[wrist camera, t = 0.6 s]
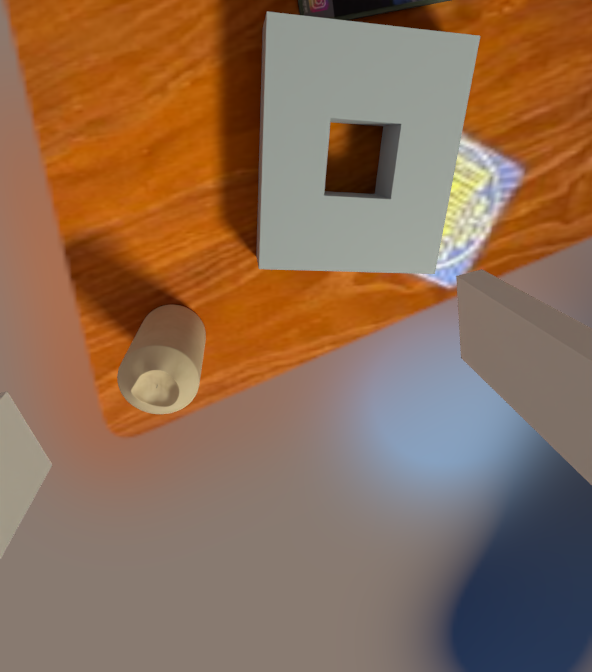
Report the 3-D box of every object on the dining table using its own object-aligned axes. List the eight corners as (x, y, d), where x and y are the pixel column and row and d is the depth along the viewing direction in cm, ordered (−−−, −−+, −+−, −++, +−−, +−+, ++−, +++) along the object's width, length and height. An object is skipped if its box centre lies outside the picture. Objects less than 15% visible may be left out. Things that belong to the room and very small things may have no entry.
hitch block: (262, 27, 30) (266, 11, 26) (452, 48, 32) (480, 35, 28) (256, 256, 36) (259, 268, 33) (415, 261, 38) (434, 273, 35)
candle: (140, 358, 39) (111, 423, 29) (142, 299, 36) (112, 350, 27) (203, 363, 40) (194, 428, 30) (208, 307, 37) (200, 358, 28)
